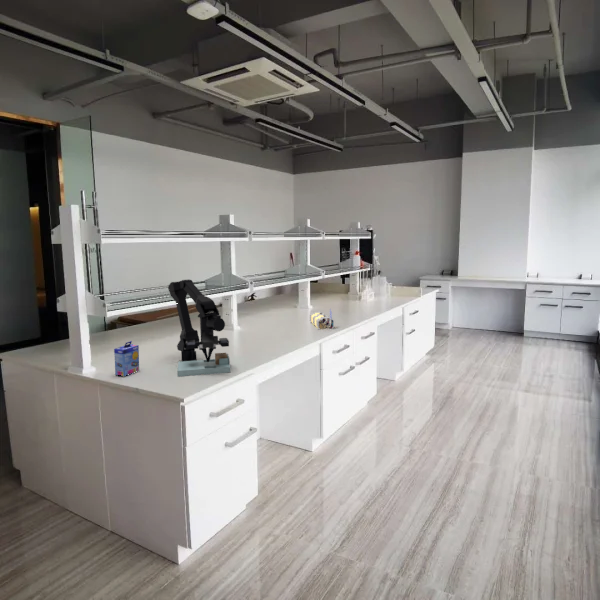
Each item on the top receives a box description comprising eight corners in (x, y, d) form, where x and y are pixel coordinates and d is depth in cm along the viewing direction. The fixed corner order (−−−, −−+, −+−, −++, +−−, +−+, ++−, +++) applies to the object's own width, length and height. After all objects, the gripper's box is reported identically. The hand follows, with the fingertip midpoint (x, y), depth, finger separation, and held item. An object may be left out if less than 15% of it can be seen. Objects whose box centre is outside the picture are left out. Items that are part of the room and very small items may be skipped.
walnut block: (215, 364, 202) (215, 356, 202) (215, 361, 207) (215, 353, 207) (227, 363, 204) (226, 355, 203) (226, 361, 208) (226, 352, 208)
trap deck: (177, 376, 194) (177, 364, 193) (178, 366, 208) (178, 355, 208) (230, 372, 199) (230, 360, 198) (227, 363, 214) (227, 352, 213)
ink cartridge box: (124, 377, 194) (122, 344, 192) (114, 376, 196) (112, 343, 194) (140, 371, 203) (138, 339, 201) (130, 369, 205) (128, 338, 203)
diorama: (333, 329, 290) (333, 309, 288) (318, 330, 288) (318, 310, 286) (324, 322, 315) (324, 303, 313) (309, 323, 313) (309, 304, 311)
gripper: (185, 333, 192) (186, 368, 194) (229, 330, 196) (230, 365, 198) (185, 327, 202) (186, 361, 205) (227, 325, 207) (228, 358, 209)
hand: (208, 361), depth 204 cm, fingers closed
